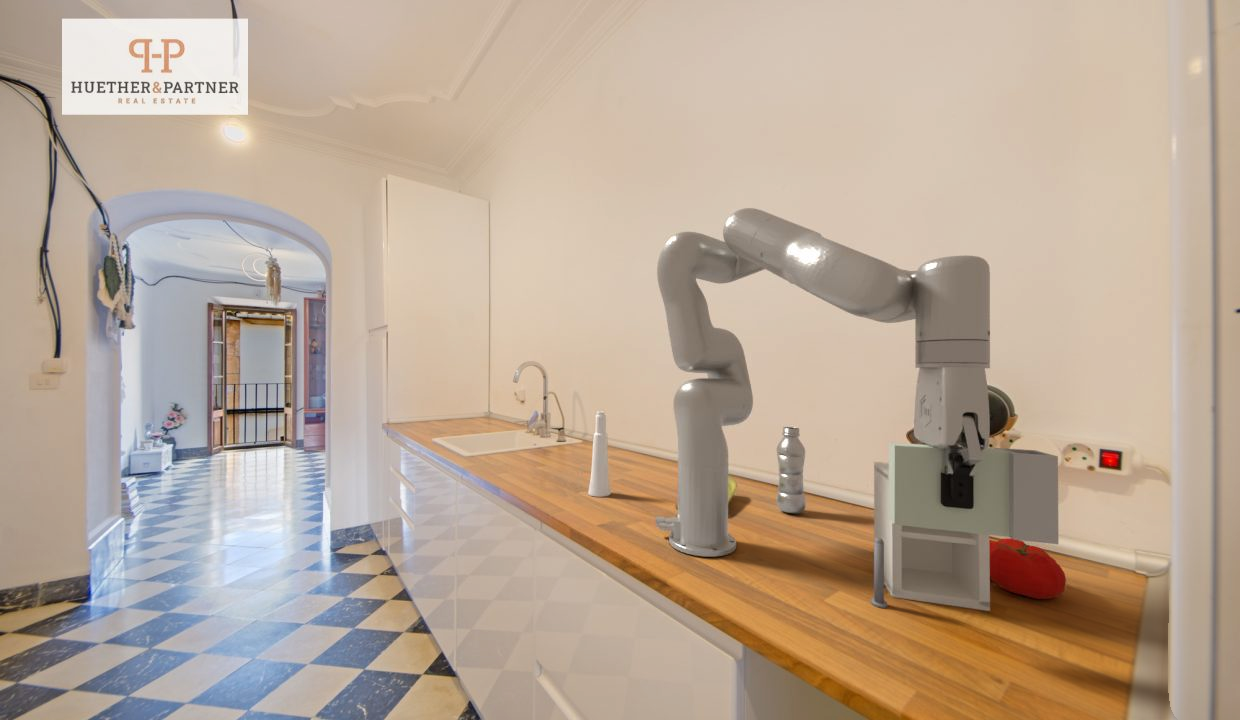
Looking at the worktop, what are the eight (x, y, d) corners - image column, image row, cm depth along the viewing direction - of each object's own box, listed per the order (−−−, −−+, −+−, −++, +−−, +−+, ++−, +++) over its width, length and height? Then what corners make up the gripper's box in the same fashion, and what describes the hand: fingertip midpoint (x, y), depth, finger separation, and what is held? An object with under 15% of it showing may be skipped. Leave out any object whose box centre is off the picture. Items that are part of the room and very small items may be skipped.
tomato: (1003, 601, 64) (1003, 556, 64) (963, 569, 75) (963, 530, 75) (1084, 610, 62) (1083, 563, 62) (1031, 576, 73) (1030, 536, 73)
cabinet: (873, 606, 62) (872, 478, 62) (851, 565, 75) (851, 460, 76) (1005, 626, 57) (1004, 488, 58) (957, 579, 71) (956, 467, 71)
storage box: (1035, 531, 54) (1035, 450, 54) (1058, 544, 50) (1057, 456, 50) (886, 516, 58) (886, 441, 59) (896, 526, 54) (896, 446, 55)
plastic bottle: (790, 518, 100) (790, 430, 100) (770, 509, 106) (770, 426, 107) (812, 515, 102) (812, 429, 103) (791, 506, 108) (791, 425, 109)
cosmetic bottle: (583, 493, 117) (585, 411, 118) (601, 489, 121) (603, 410, 122) (597, 498, 113) (598, 413, 113) (615, 494, 117) (616, 412, 117)
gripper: (896, 358, 64) (896, 485, 63) (943, 353, 49) (943, 520, 48) (957, 359, 62) (957, 490, 61) (1026, 354, 46) (1026, 529, 46)
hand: (951, 502), depth 55 cm, fingers closed on storage box, 2 cm apart
